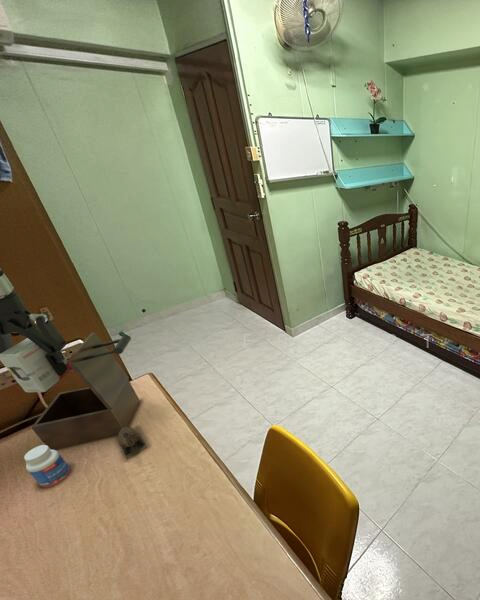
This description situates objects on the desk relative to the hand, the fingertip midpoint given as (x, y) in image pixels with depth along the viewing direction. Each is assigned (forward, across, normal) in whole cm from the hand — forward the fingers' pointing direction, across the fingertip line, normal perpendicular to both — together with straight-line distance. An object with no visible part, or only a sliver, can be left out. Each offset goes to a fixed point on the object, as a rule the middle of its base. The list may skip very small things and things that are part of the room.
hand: (46, 375), depth 80 cm
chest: (+21, +3, 0) cm, 21 cm away
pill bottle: (+21, 0, -15) cm, 26 cm away
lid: (+2, +10, 0) cm, 11 cm away
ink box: (+2, 0, 0) cm, 2 cm away
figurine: (+21, +16, -12) cm, 29 cm away
